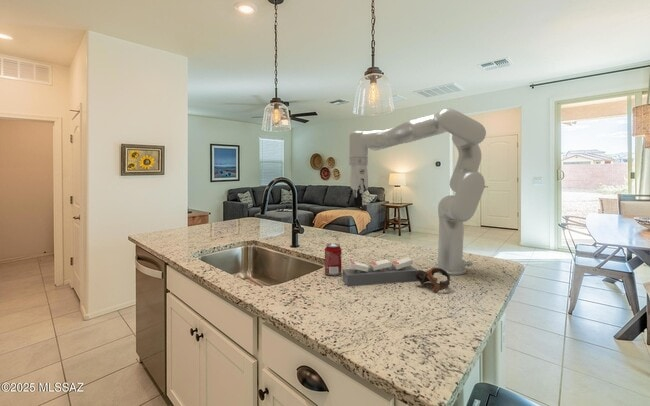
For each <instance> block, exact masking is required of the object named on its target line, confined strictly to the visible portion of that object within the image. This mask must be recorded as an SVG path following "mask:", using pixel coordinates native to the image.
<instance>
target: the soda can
mask: <svg viewBox="0 0 650 406" xmlns="http://www.w3.org/2000/svg"><path fill="white" fill-rule="evenodd" d="M324 272H325V274H327V275H329V276H333V277H334V276H339V275H340V274H341V273H342V248H341V245H340V243H336V242H335V243H333V242H332V243H327V244H326V247H325V248H324Z"/></svg>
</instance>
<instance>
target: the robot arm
mask: <svg viewBox="0 0 650 406" xmlns="http://www.w3.org/2000/svg"><path fill="white" fill-rule="evenodd" d="M444 133H449V134H451V140H452V143H453V145H454V146H455V147H456V150H457V152H458V158H457V160H456V161H457V162H456V164H455V167H454V169H453V172H452V174H451V177H450V180H449V189H451V191H453V192H454V195H446V196H444V197H442V198H441V199H440V201H439V202H438V205H437V215H438V247H437V248H438V249H437V263H436V264H434V265H433V268H435V267H437V268H441V269H443V270H445V271H446V272H447V273H448V274H449V276H456V275H457V276H459V275H464V274H466V273H467V269H466V268H465V267H468V266H469V267H470V266H473V264H474V263H473V261H472V260H468V261H467V260H465V259H464V260H463V256H464V255H463V253H464V249H463V248H464V233H465V232H464V231H465V226H464V222H467V221H470V220H471V219H472V218H473V216H474V215H475V213H476V211H477V208H478V206H479V203H480V201H481V198H482V197H483V193H484V191H485V186H486V183H485V182H486V181H485V177H484V176H483V174H482V173H480V172H479V168H480V165H481V161H482V151H481V148H480V144H481V143H483V141H484V140H485V138H486V137H487V136H486V135H487V131H486V128H485V125H483V124H482V123H481V122H479V121H478V120H476V119H473V118H472V117H470V116H468V115H466V114H464V113H462V112H460V111H459V110H456V109H453V108H444V109H441V110H439V111H437V112H435V113H431V114H427V115H424V116H420V117H418V118H417V117H416V118H414V119H412V118H411V119H409V120H406V121H403V122H402V123H400V124H398V125H396V126H393V127H391V128H388V129H385V130H382V129H375V130H374V129H373V130H367V131H364V130H353V131H350V132H349V135H348V136H349V138H348V139H349V140H348V143H349V145H348V148H349V149H348V150H349V151H348V152H349V155H348V156H349V158H348V159H349V160H348V164H349V165H348V166H350V176H349V177H350V178H349V179H350V182H349V184H350V189H352V191H353V207H354V208H363V195H364V193H365V190H368V189H369V177H368V176H369V175H368V174H369V172H368V167H369V166H368V160H369V156H368V155H369V150H371V151H380V150H384V149H387V148H392V147H395V146H398V145H402V144H408V143H412V142H416V141H420V140H422V139H427V138H431V137H433V136H437V135H441V134H444ZM367 166H368V167H367ZM438 273H440V274H442V273H441V272H440V271H439V272H438Z"/></svg>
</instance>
